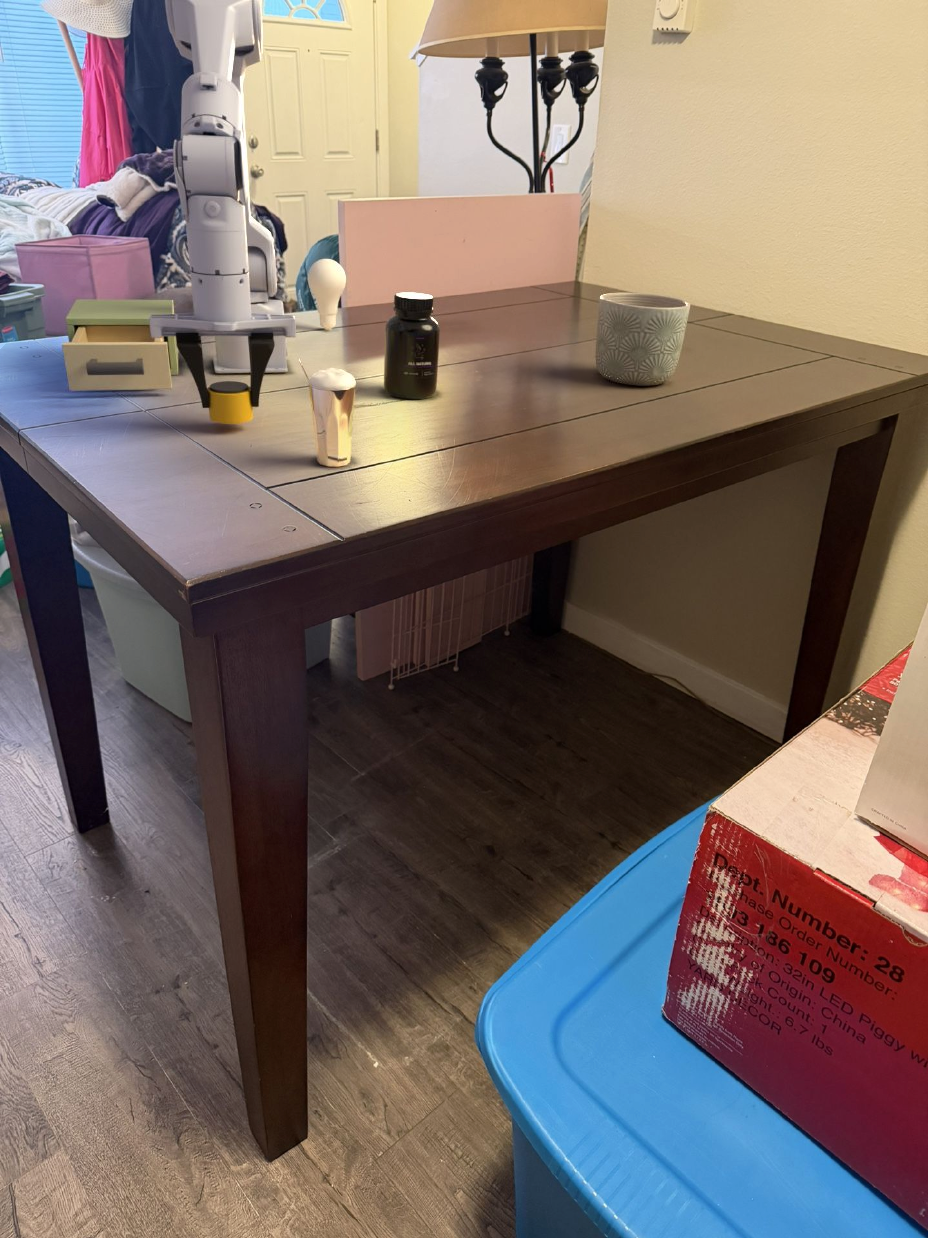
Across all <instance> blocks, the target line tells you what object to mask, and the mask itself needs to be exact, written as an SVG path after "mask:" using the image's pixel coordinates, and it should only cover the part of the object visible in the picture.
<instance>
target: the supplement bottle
mask: <svg viewBox="0 0 928 1238" xmlns="http://www.w3.org/2000/svg"><path fill="white" fill-rule="evenodd" d="M393 297H394V298H393V306H392V309H393V311H394V312H395V314H394V315H393V316H391V317H389V318H388V319H387V321H386V322H385V328H384V362H383V364H384V365H383V368H384V369H383V390H384V391H385V393H386V394H387V395H389V396H392V397H393V398H399V399H405V400H424V399H429V398H432V397H434V396H435V395H436V393H437V387H438V372H439V353H440V352H439V351H440V336H441V335H440V334H441V328H440V325H439V323H438V322H437V321H436V319H434V318H433V317H432V314H433V313H434V297H433V296H432V295H430V294H427V293H426V294H425V293H419V292H418V293H417V292H399V293H395V294H394V296H393Z"/></svg>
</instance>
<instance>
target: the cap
mask: <svg viewBox="0 0 928 1238" xmlns="http://www.w3.org/2000/svg"><path fill="white" fill-rule="evenodd" d="M207 392H208V398H209V408H208V415H209V420H210V421H211V422H214V423H217V424H221V425H222V424H223V425H238V424H239V425H241V424H244V423H248V422H250V421H252V420H253V419H254V411H253V410H254V409H253V408H254V407H252V398H251V388H250V385H248V383H246V382H242V381H235V380H234V381H233V380H225V381H224V380H223V381H216V382H214V383H211V384H210V385H209V386H207Z"/></svg>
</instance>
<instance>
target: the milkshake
mask: <svg viewBox="0 0 928 1238" xmlns="http://www.w3.org/2000/svg"><path fill="white" fill-rule="evenodd" d="M298 362H299V365H300V366H301V368H302V371H303V373H304V375H305V377H306V379H307V382H308V389H309V390H308V391H309V398H310V405H311V415H312V421H313V422H312V423H313V433H314V434H313V435H314V444H315V451H316V461H317V462H318V463H319V465H321V466H325V467H329V468H331V467H335V468H337V467H338V468H339V467H343V466H347V465H348V464H349V463H351V457H352V456H351V455H352V441H353V426H354V425H353V424H354V409H355V399H356V389H357V388H356V387H357V381H356V379H355V377H354V375H352V374H351V373H350V372H349V371H348V372H347V371H346V370H345V369H342V368H334V367H328V368H326V369H320V370H317V371H316V372H314V373H313V374H312V375H311V376H310V377H309V376H308V374H307V372H306V371H305V368H304V366H303V364H302V362H301V360H300V359H298Z"/></svg>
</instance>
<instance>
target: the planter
mask: <svg viewBox="0 0 928 1238" xmlns="http://www.w3.org/2000/svg"><path fill="white" fill-rule="evenodd" d="M598 304H599V305H598V312H597V313H598V315H597V326H596V337H595V365H596V369H597V371H598V373H599V374H600V375H601V376H602V377H603V378H605V379H606V380H609V381H611V382H614V383H618V384H622V385H629V386H640V387H641V386H643V387H645V386H646V387H649V386H657V385H661V384H664V383H666V382H668V380H670V379H671V378H672V377H673V375H674V374H675V372H676V369H677V366H678V363H679V359H680V356H681V353H682V347H683V344H684V339H685V334H686V330H687V324H688V321H689V314H690V310H691V309H690V308H691V303H690V302H689V301H687V300H684V299H681V298H678V297H672V296H667V295H661V294H654V293H644V292H643V293H642V292H610V293H604V294H601V295H600V297H599V303H598ZM600 372H601V373H600ZM604 374H605V375H604ZM606 375H607V376H606ZM609 376H610V377H609ZM617 378H618V379H617ZM669 378H670V379H669ZM666 379H668V380H666ZM661 380H664V381H661ZM655 381H656V382H655Z"/></svg>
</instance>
